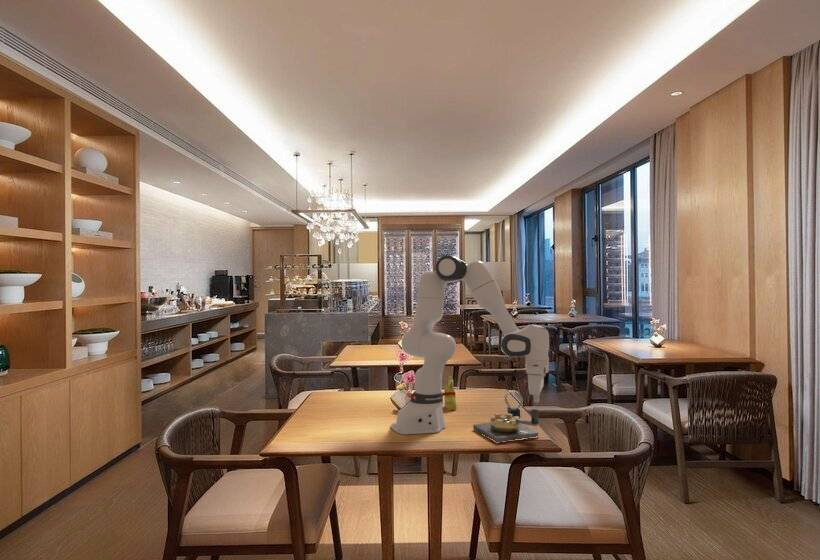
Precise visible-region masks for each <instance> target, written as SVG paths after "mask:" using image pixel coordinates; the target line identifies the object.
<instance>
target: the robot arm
mask: <svg viewBox="0 0 820 560" xmlns="http://www.w3.org/2000/svg"><path fill="white" fill-rule="evenodd" d="M461 281H463V283H465V285H466V286H467V288H468V289H469V291H470V293H471V295H472V297H473V299H474V300H475V301H476V303H477V304H478V305H479V306H480V307H481V308H483V309H484V310H486V311H487V312H488V313H489V314H491V315H492V317H493V318H494V319H495V321H496V323H497V325H498V327H499V329H500V330H501V332H502V335H503V338H502V340H501V345H500V346H501V349H502V351H503V353H504V354H505V355H506V356H508V357H511V358H517V357H518V358H519V357H523V356H524V357H525V372H526V374H527V383H528V385H527V387H528V393H529V395H530V396H533V403H534V404H539V402H540V395H541V391H542V390H543V387H544V384H545V383H544V380H545V378H544V377H546V374H547V373H549V372H550V358H549V350H550V335H549V331H548V329H547V328H546V327H545V326H541V325H539V324H532V323H531V324H528V325H526V326H525V327H523V328H521V329H520V328H519V327H518V326H517V324H516V323H515V321H514V319H513V317H512V316H511V314H510V312H509V309H508V308H507V305H506V303H505V301H504V298H503V295H502V291H501V289H500V286H499V285H498V282H497V280H496V278H495V276H494V274H493V273H492V272H491V271H490V269H489V268H488V267H487V265H486V264H485V263H484V262H483V261H481V260H472V261H470V262H468V263H466V262H465V261H464V260H462V259H461V258H460V257H458V256H456V255H452V254H446V255H443V256H441V257H439V258H438V260H437V262H436V264H435V270H432V271H425V272H424V273H422V274H421V275H420V278H419V282H418V288H417V294H416V295H417V296H416V297H417V298H416V310H415V317H414V320H413V322H412V325H411V327H410V329H409V330H407V331H406V332H405V333H404V335H403V337H402V338H401V348H402V351H403V352H404V353H405V354H408V355H410V356H412V357H416V358H423V361H424V362H423V364H422V367H420V368H418V369H417V370H416V372H415V373H414V374H415V375H414V391H413V392H410V391H408V392H407V393H406V396H407V398H409V399H410V401H409V402H407V404H406V405H404V406H403V407H402V408H401V409H399V410H398V411H397V415H396V420H395V421H394V422H392V423H391V425H390V428H391V429H392V430H393V432H394V433H397V434H399V435H405V436H406V435H419V434H434V433H440V432H441V431H442V430H444V428H446V427H447V425H446V422H445V421H446V420H445V418H444V411H443V402H444V396H443V393H444V392H443V391H442V389H443V388H442V385H443V384H442V383H443V380H442V379H443V372H444V368H445V365H446V364H447V363H448V361H449V360H450V359H452V357H454V355H455V353H456V351H457V343H456V340H455V338H454V337H453V336H452V335H449V334H446V333H443V332H438V331H437V332H436V331H435V332H434V331H433V329H434V327H435V325H436V323H438V322H440V321H441V320H442V318H443V316H444V302H445V301H444V299H445V298H444V297H445V296H444V294H445V289H446V286H448V285H449V286H450V285H453V284H457V283H459V282H461Z"/></svg>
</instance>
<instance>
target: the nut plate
mask: <svg viewBox="0 0 820 560" xmlns="http://www.w3.org/2000/svg"><path fill="white" fill-rule="evenodd" d="M472 427H473V428H472V429H474V430H473V431H475V430H476V431H475V432H477V431H478V432H480V433H481V434H480V433H479V434H480V435H482V434H483V435H485V436H487V437H489V438H491V439H493V440H495V441H496V442H502V441H508V440H515V439H522V438H529V437H536V436H538V437H539V432H538V431H536V430H534V429H531V428H530V427H528V426H525V425H524V424H520V423H519V430H518V431H515V432H499V431H495V430H493V429H491V421H490V422H484V423H476V424H472ZM478 432H477V433H478ZM483 435H482V436H483ZM485 436H484V437H485ZM487 437H486V438H487Z"/></svg>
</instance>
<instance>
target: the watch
mask: <svg viewBox="0 0 820 560" xmlns="http://www.w3.org/2000/svg"><path fill="white" fill-rule="evenodd" d="M511 393H514V394H515V397H516V398H517V400H518V401H519V404H518V405H516V406H511V405H510V404H509V402H508V398H507V397H508V395H510V394H511ZM523 401H524V399H523V396H522V395H521V394H520V392H519V390H513V389H510V390H509V391H507V392H506V393H505V395H504V402H505V404H506V405H507V410H506V411H507V412H508V414H513V416H520V417H521V409H520V408H521V407H522V406H523V403H524V402H523Z"/></svg>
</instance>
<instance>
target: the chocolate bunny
mask: <svg viewBox="0 0 820 560" xmlns="http://www.w3.org/2000/svg"><path fill="white" fill-rule="evenodd" d="M443 399H444V406H445V408H446V409H447V410H448V411H455V409H456V410H457V402H456V400H457V398H456V392H455V387H454V379H453V377H452V376H448V377H447V381H446V383H445V387H444V392H443Z"/></svg>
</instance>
